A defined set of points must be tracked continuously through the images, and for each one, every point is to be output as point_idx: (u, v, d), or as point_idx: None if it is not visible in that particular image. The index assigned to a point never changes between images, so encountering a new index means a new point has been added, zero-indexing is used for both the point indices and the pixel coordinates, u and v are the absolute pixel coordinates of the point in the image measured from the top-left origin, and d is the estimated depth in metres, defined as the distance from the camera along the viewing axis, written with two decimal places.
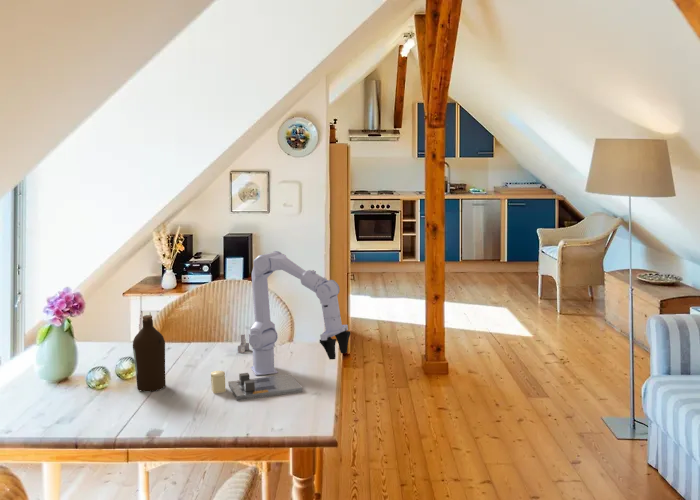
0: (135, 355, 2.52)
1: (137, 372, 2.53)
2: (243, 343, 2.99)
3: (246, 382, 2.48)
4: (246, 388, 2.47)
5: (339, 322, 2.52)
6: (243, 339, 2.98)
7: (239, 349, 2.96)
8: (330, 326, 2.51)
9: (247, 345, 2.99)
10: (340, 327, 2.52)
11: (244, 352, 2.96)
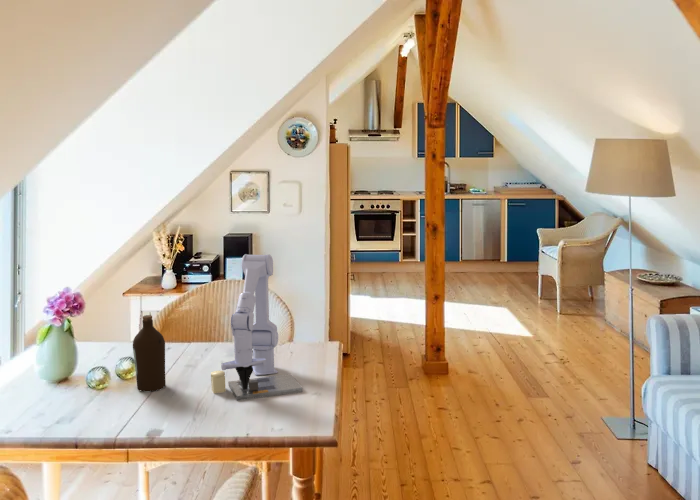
0: (135, 355, 2.52)
1: (137, 372, 2.53)
2: None
3: (250, 382, 2.48)
4: (250, 388, 2.48)
5: (244, 356, 2.44)
6: None
7: None
8: (235, 357, 2.45)
9: None
10: (244, 362, 2.44)
11: None
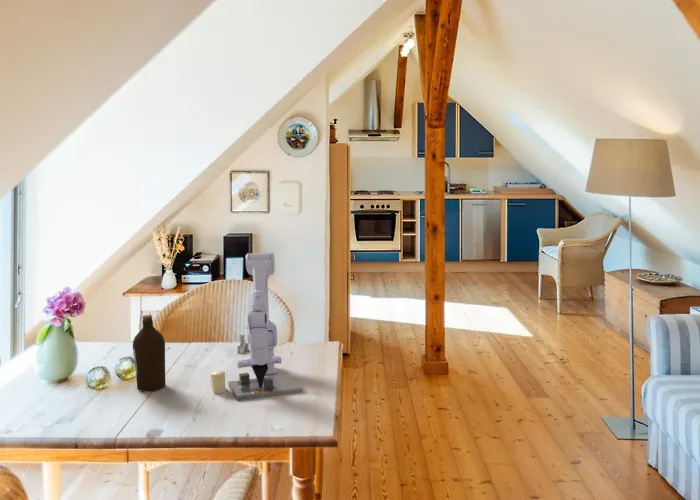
0: (135, 355, 2.52)
1: (137, 372, 2.53)
2: (242, 343, 2.98)
3: (264, 380, 2.50)
4: (264, 386, 2.49)
5: (260, 355, 2.46)
6: (242, 339, 2.98)
7: (238, 349, 2.95)
8: (251, 356, 2.47)
9: (246, 345, 2.98)
10: (260, 360, 2.46)
11: None
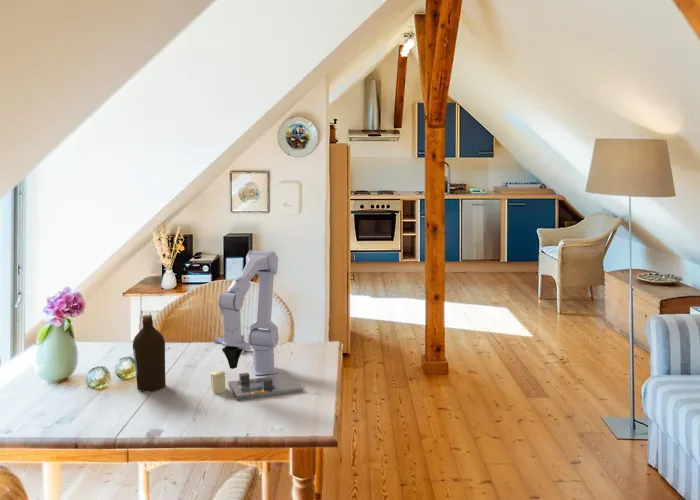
0: (135, 355, 2.52)
1: (137, 372, 2.53)
2: None
3: (264, 380, 2.50)
4: (264, 386, 2.49)
5: (225, 336, 2.46)
6: (242, 340, 2.98)
7: None
8: None
9: None
10: (225, 341, 2.47)
11: None
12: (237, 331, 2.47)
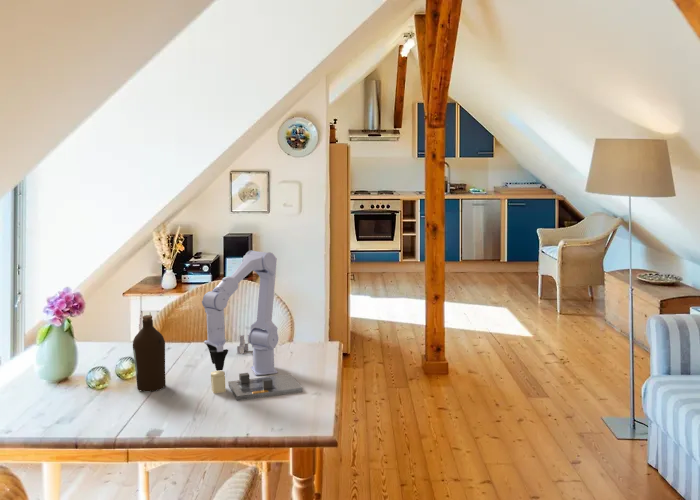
0: (135, 355, 2.52)
1: (137, 372, 2.53)
2: (242, 344, 2.98)
3: (264, 380, 2.50)
4: (264, 386, 2.49)
5: (207, 333, 2.49)
6: (242, 340, 2.97)
7: (238, 350, 2.95)
8: None
9: (246, 346, 2.98)
10: None
11: None
12: (216, 331, 2.47)
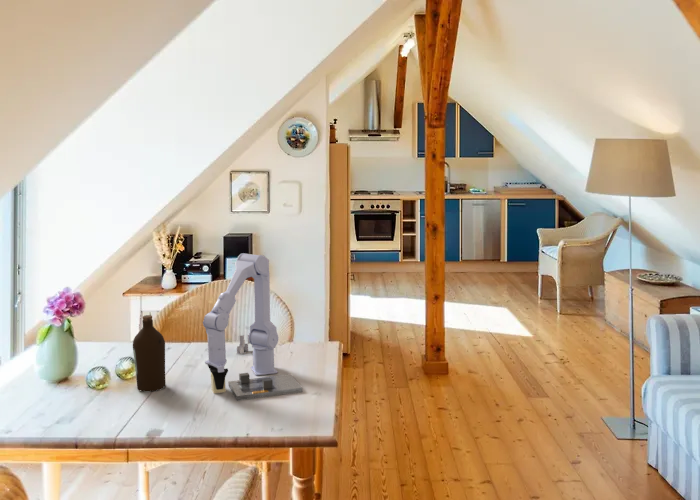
0: (135, 355, 2.52)
1: (137, 372, 2.53)
2: (242, 344, 2.98)
3: (264, 380, 2.50)
4: (264, 386, 2.49)
5: (208, 354, 2.50)
6: (242, 340, 2.97)
7: (238, 350, 2.95)
8: None
9: (246, 346, 2.98)
10: None
11: (243, 353, 2.95)
12: (217, 351, 2.48)
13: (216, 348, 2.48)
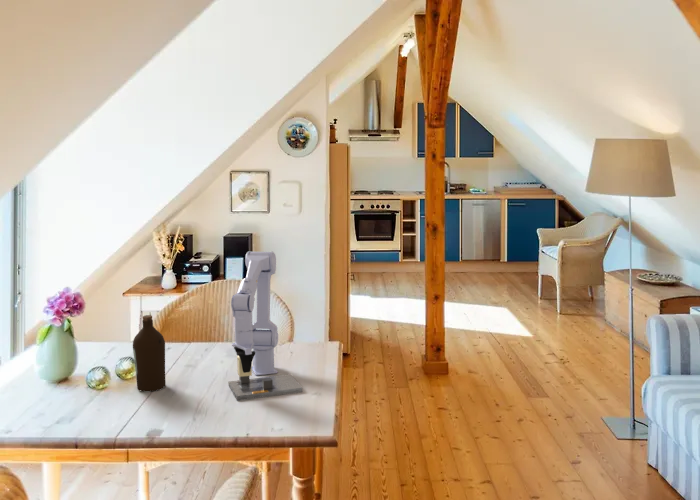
0: (135, 355, 2.52)
1: (137, 372, 2.53)
2: None
3: (264, 380, 2.50)
4: (264, 386, 2.49)
5: (235, 336, 2.46)
6: None
7: None
8: None
9: None
10: (235, 341, 2.46)
11: None
12: (244, 333, 2.44)
13: (247, 330, 2.44)
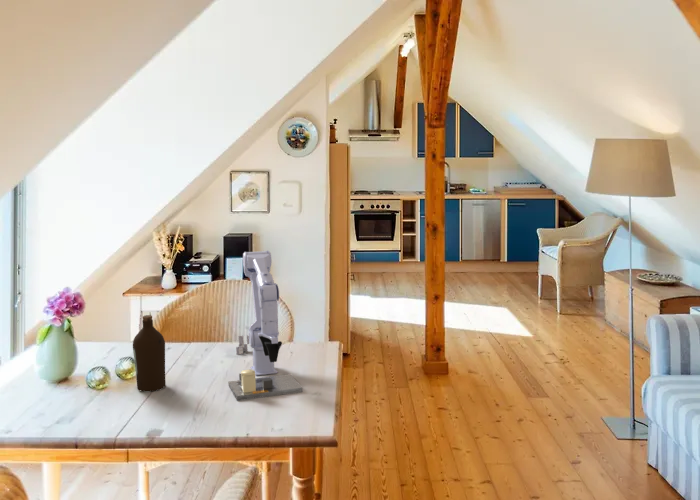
0: (135, 355, 2.52)
1: (137, 372, 2.53)
2: (241, 344, 2.97)
3: (264, 380, 2.50)
4: (264, 386, 2.49)
5: (261, 326, 2.54)
6: (241, 340, 2.97)
7: (237, 350, 2.94)
8: None
9: (245, 346, 2.97)
10: (261, 331, 2.54)
11: None
12: (270, 323, 2.52)
13: (276, 319, 2.53)
